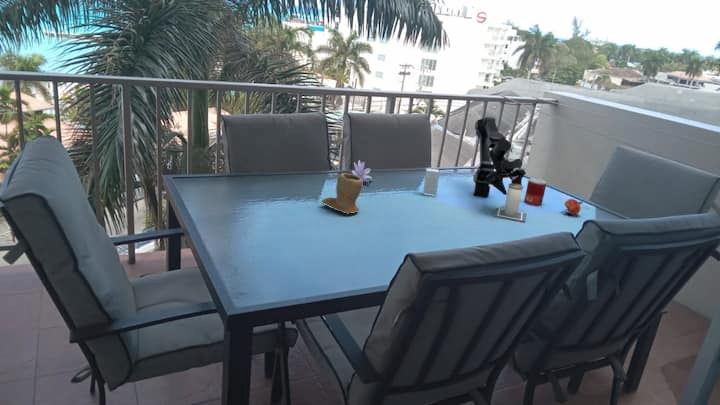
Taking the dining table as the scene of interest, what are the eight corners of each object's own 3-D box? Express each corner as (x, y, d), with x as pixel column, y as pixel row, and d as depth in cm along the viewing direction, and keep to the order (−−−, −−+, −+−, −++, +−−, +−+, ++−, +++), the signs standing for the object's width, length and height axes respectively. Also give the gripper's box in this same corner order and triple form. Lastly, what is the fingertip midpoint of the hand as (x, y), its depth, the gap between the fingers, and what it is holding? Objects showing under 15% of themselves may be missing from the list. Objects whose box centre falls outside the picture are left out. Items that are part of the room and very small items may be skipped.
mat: (493, 216, 204) (493, 215, 203) (495, 208, 214) (495, 207, 213) (525, 222, 200) (525, 221, 200) (526, 214, 210) (526, 213, 209)
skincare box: (435, 194, 227) (439, 169, 223) (436, 196, 223) (439, 172, 219) (422, 192, 227) (426, 168, 223) (423, 195, 223) (426, 170, 219)
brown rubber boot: (366, 212, 195) (369, 177, 190) (345, 218, 187) (348, 181, 182) (340, 201, 205) (343, 167, 200) (319, 206, 197) (321, 171, 192)
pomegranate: (564, 220, 213) (586, 211, 209) (556, 206, 213) (578, 196, 209) (564, 217, 220) (586, 208, 215) (556, 203, 220) (578, 194, 216)
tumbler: (500, 213, 206) (506, 184, 202) (507, 210, 210) (512, 182, 206) (513, 217, 203) (519, 188, 198) (519, 214, 207) (525, 186, 202)
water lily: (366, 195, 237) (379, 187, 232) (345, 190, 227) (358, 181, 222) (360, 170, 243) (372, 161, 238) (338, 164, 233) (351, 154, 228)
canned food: (542, 206, 222) (547, 184, 219) (525, 204, 224) (529, 181, 220) (540, 201, 229) (545, 179, 226) (523, 199, 231) (527, 177, 227)
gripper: (495, 153, 198) (510, 186, 193) (526, 150, 207) (542, 183, 202) (479, 166, 207) (493, 198, 202) (509, 163, 216) (523, 194, 211)
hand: (513, 193), depth 204 cm, fingers open, 9 cm apart
